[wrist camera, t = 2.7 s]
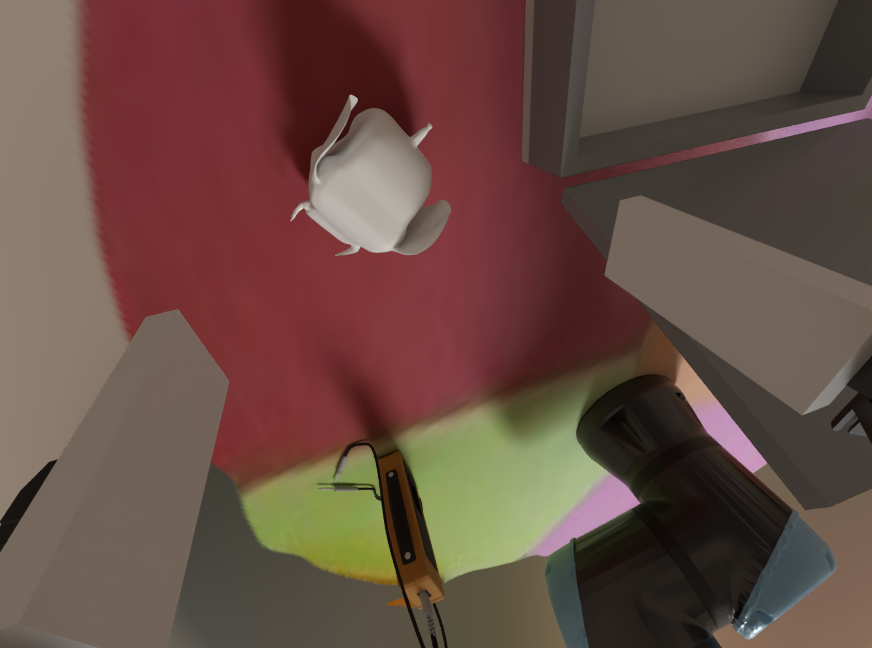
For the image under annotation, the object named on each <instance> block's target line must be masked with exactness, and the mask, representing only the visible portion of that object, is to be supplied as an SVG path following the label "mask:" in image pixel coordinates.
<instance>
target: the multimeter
mask: <svg viewBox="0 0 872 648" xmlns="http://www.w3.org/2000/svg"><path fill="white" fill-rule="evenodd" d="M360 445H368V446H369V447H370V448H371V449H372V452H373V454H374V458H375V462H376V467H377V473H378V479H379V487H380V495H381V499H380V498H378V497H377V495H376V490H375V489H374V488H358V487H350V486H335V487H334V488H317V489H321V490H334V491H335V492H336V491H357V490H373V491H374V494H375V498H376V499H377V500H380V501H381V503H382V510H383V518H384V524H385V530H386V535H387V540H388V544H389V548H390V552H391V556H392V560H393V563H394V567H395V570H396V575H397V581H398V586H399V588H400V590H401V592H402V593H403V596H404V599H405V602H406V605H407V609H408V612H409V614H410V617H411V620H412V623H413V626H414V629H415V632H416V635H417V637H418V640H419V642H420V645H421V648H425V646H424V643H423V640H422V637H421V635H420V632H419V629H418V626H417V623H416V621H415V618H414V615H413V612H412V609H411V606H410V603H409V600H408V598H409V599H410V600H411V601H412V602H413V603H414V604H415V605H416V607H417V608H418V609H423V613H424V615H425V616H426V619H427V620H426V621H427V623H428V624H427V626H428V630H429V634H430V635H431V640H432V645H433V648H438V643H437V639H436V632H435V627H434V622H433V618H432V617H433V612H432V609H431V604H433V606H434V609H435V611H436V614H437V617H438V620H439V623H440V627H441V631H442V635H443V640H444V645H445V648H448V647H447V642H446V636H445V632H444V628H443V624H442V621H441V618H440V615H439V612H438V609H437V607H436V604H435V603H436V602H438V601H440V600H442V599H444V597H445V595H444V591H443V587H442V583H441V579H440V575H439V572H438V568H437V564H436V560H435V556H434V552H433V548H432V545H431V541H430V537H429V533H428V529H427V526H426V522H425V518H424V514H423V507H422V502H421V498H420V497H419V495H418V491H417V487H416V483H415V480H414V478H413V476H412V474H411V472H410V471H409V469H408V467H407V465H406V463H405V461H404V459H403V457H402V455H401V453H400V452H399V451H398V452H395V453H393V454H390V455H388V456H385V457H383V458H380V459H377V455H376V452H375V450H374V448H373V446H372V445H371V444H370V443H357V444H354V445H352V446H350V447H349V448H348V449H347V451H346V453H345V455H344V456H343V458H342V460H341V463H340V465H339V467H338V470H337V471H336V472H337V476H336V478H335V481H334V483H335V482H336V480H337V478H338V476H339V474H341V473H342V469H343V467H344V464H345V462H346V459H347V454H348V452H349V451H350V449H351V448H353V447H355V446H360Z"/></svg>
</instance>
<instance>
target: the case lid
mask: <svg viewBox="0 0 872 648" xmlns="http://www.w3.org/2000/svg"><path fill="white" fill-rule="evenodd" d="M640 195H641V196H644V197H646V198H649V199H651V200H654V201H657V202H659V203H662V204H664V205H667V206H669V207H672V208H674V209H677V210H679V211H682V212H684V213H687V214H690V215H692V216H695V217H697V218H700V219H702V220H705V221H707V222H710V223H712V224H715V225H717V226H720V227H723V228H725V229H728V230H730V231H733V232H735V233H738V234H740V235H743V236H745V237H748V238H750V239H753V240H756V241H758V242H761V243H763V244H766V245H768V246H771V247H773V248H776V249H778V250H781V251H783V252H786V253H789V254H791V255H794V256H796V257H799V258H801V259H804V260H806V261H809V262H811V263H814V264H816V265H819V266H822V267H824V268H827V269H829V270H832V271H834V272H837V273H839V274H842V275H844V276H847V277H849V278H852V279H855V280H857V281H860V282H862V283H865V284H867V285H870V286H872V120H871V119H870V118H866V119H862V120H858V121H853V122H849V123H845V124H840V125H836V126H832V127H827V128H823V129H819V130H815V131H810V132H806V133H802V134H797V135H793V136H789V137H784V138H780V139H776V140H771V141H767V142H763V143H758V144H754V145H750V146H745V147H741V148H737V149H732V150H728V151H724V152H719V153H715V154H711V155H706V156H702V157H698V158H693V159H689V160H685V161H681V162H676V163H672V164H668V165H663V166H659V167H655V168H650V169H646V170H642V171H637V172H633V173H629V174H624V175H620V176H616V177H611V178H607V179H603V180H598V181H594V182H590V183H585V184H581V185H577V186H572V187H568V188H564V191H563V194H562V197H561V200H560V203H561V204H562V206H563V207H564V208H565V209H566V211H567V212H568V213H569V214H570V216H571V217H572V218H573V219H574V221H575V222H576V223H577V224H578V226H579V227H580V228H581V229H582V231H583V232H584V233H585V235H586V236H587V237H588V238H589V240H590V241H591V242H592V243H593V245H594V246H595V247H596V248H597V250H598V251H599V252H600V253H601V255H602V256H603V257H604V258H605V260H606V261H608V256H609V251H610V246H611V241H612V236H613V231H614V227H615V222H616V217H617V212H618V207H619V202H620V200H624V199H628V198H632V197H636V196H640ZM636 299H637V298H636ZM637 300H638V299H637ZM638 301H639V302H640V304H641V305H642V306H643V307H644V309H645V310H646V311H647V312H648V314H649V315H650V316H651V317H652V319H653V320H654V321H655V322H656V324H657V325H658V326H659V327H660V329H661V330H662V331H663V332H664V334H665V335H666V336H667V337H668V339H669V340H670V341H671V342H672V344H673V345H674V346H675V347H676V349H677V350H678V351H679V352H680V354H681V355H682V356H683V357H684V359H685V360H686V361H687V362H688V364H689V365H690V366H691V368H692V369H693V370H694V371H695V373H696V374H697V375H698V376H699V378H700V379H701V380H702V381H703V383H704V384H705V385H706V386H707V388H708V389H709V390H710V391H711V393H712V394H713V395H714V396H715V398H716V399H717V400H718V401H719V403H720V404H721V405H722V406H723V408H724V409H725V410H726V411H727V413H728V414H729V415H730V416H731V418H732V419H733V420H734V421H735V423H736V424H737V425H738V426H739V428H740V429H741V430H742V432H743V433H744V434H745V435H746V437H747V438H748V439H749V440H750V442H751V443H752V444H753V445H754V447H755V448H756V449H757V450H758V452H759V453H760V454H761V455H762V457H763V458H764V459H765V460H766V462H767V463H768V464H769V465H770V466H771V468H772V469H773V470H774V472H775V473H776V474H777V475H778V477H779V478H780V479H781V480H782V481H783V483H784V484H785V485H786V487H787V488H788V489H789V490H790V492H791V493H792V494H793V496H794V497H795V498H796V499H797V500H798V502H799V503H800V504H801V505H802V507H803V508H804V509H805V510H809V509H816V508H825V507H831V506H834V505H836V504H838V503H840V502H843V501H845V500H847V499H849V498H852V497H854V496H856V495H858V494H861V493H863V492H865V491H868V490H870V489H872V444H871V442H870V440H869V438H868V437H864V436H859V435H854V434H849V433H848V430H849V428H850V427H851V426H852V425H853V424H854V423H855V422H856V421H857V419H850V420H849V421H848V422H847V423H846V424H845V425H844V426H843V427H842V428H841V429H840V430H839V431H835V430H832V427H831V421H832V420H833V419H834V418H835V417H836V416H837V414H838V413H839V412H840V411H841V410H842V409H843V408H844V407H845V406H846V405H847V404H848V403H849V402H850V401H851V400H852V399H853V398H854V397H855V395H856V394H857V393H858V392H857V391H855V390H854V389H852V388H850V387H849V386H847V385H846V386H845V388H844V389H843V390H842V391H841V392H840V393H839V394H838V395H837V396H836V398H835V399H834V400H833V401H832V402H831V403H830V404H829V405H827V406H825V407H822V408H820V409H817V410H814V411H812V412H809V413H807V414H804V415H801V414H799V413H798V412H797V411H795V410H794V409H792V408H791V407H790V406H788V405H787V404H785V403H784V402H782V401H781V400H780V399H778V398H777V397H775V396H774V395H773V394H771V393H770V392H768V391H767V390H766V389H764V388H763V387H761V386H760V385H758V384H757V383H756V382H754V381H753V380H751V379H750V378H749V377H747V376H746V375H744V374H743V373H741V372H740V371H739V370H737V369H736V368H734V367H733V366H732V365H730V364H729V363H727V362H726V361H725V360H723V359H722V358H720V357H719V356H717V355H716V354H715V353H713V352H712V351H710V350H709V349H708V348H706V347H705V346H703V345H702V344H701V343H699V342H698V341H696V340H695V339H693V338H692V337H691V336H689V335H688V334H686V333H685V332H684V331H682V330H681V329H679V328H678V327H677V326H675V325H674V324H672V323H671V322H669V321H668V320H667V319H665V318H664V317H662V316H661V315H660V314H658V313H657V312H655V311H654V310H652V309H651V308H650V307H648V306H647V305H645V304H644V303H643V302H641V301H640V300H638Z"/></svg>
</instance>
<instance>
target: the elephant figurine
mask: <svg viewBox="0 0 872 648" xmlns="http://www.w3.org/2000/svg"><path fill="white" fill-rule="evenodd" d="M357 101H358V99H357V98H356V97H355V96H353V95H349V98H348V100H347V102H346V105H345V107H344V109H343V111H342V113H341V115H340V117H339V119H338V120H337V122H336V124H335V126H334V128H333V129H332V131H331V133H330V135H329V136H328V138H327V140H326V141H325V143H324V144H323V145H322V146H320V147H317V148H316V149H315V150H314V151H313V152H312V155H311V167H310V173H309V196H310V199H309V200H308V201H304V202H302V203H300V204H299V205H298V206H297V208H296V209H295V211H294V212H293V214H292V218H291V221H292V220H293V219H294V218H295V216H296V215H297V213H298V212H299V211H300V210H302V209H303V208H304V209H305V210H306V213H307V214H308V215H309V216H310V217H311V218H312V219H313V220H314V221H316V222H317V223H318V224H319V225H321V226H322V227H323V228H324V229H326V230H327V231H328V232H329V233H331V234H332V235H333V236H335V237H336V238H337V239H339V240H340V241H342V242H343V243H346V244H350V245H351V247H350V248H349V249H347V250H346V251H344V252H341V253H339V254H336V255H335V256H338V255H346V254H351V253H355V252H357V251H358V250H359V248H360V246H361V247H363V248H365V249H366V250H368V251H371V252H387V251H396V252H398V253H401V254H404V255H414V254H418V253H421V252H422V251H424V250H426V249H427V248H428V247H430V246H431V245H432V244H433V243H434V242H435V241H436V239H437V238H438V237H439V235H440V233H441V232H442V230H443V228H444V226H445V224H446V222H447V220H448V217H449V214H450V213H451V208H450V205H449V204H448V202H447V201H445V200H440V201H438V202H437V203H435V204H434V205H430V206H423V207H422V205H423V203H424V202H425V200H426V199H427V197H428V195H429V191H430V187H431V181H432V168H431V165H430V163H429V162H428V160H427V159H426V158H425V156H424V155H423V154H422V153H421V151H420V150H419V149H418V147H417V146H418V144H419V143H420V142H421V141H422V139H423V138H424V137H425V136H426V134H427V133H428V131H429V130H430V129H431V128H432V125H431V124H430V123H429V124H428V125H427V127H425V128H422V129H421V130H419V131H418V132H417V133H415V134H414V135H413V136H411V137H409V136H408V135H407V134H406V133H405V132H404V131H403V130H402V128H401V127H400V126H399V125H398V124H397V123H396V121H395V120H394V119H393V118H392V117H391V116H390V115H389V114H388V113H387V112H385V111H384V110H381V109H377V108H370V109H367V110H365V111H363V112H361V113H359V114H358V115H357V116H356V117H355V118H354V120H353V122H352V124H351V126H350V130H349V132H348V134H347V135H346V136H345V137H344V138H343V139H341V140H340V141H338V142H336V143H334V142H335V141H336V139H337V138H338V137H339V135H340V133H341V132H342V130H343V128H344V127H345V125H346V123H347V121H348V118H349V116H350V112H351V110H352V109H353V107H354V106H355V105H356V103H357ZM321 158H322V159H321ZM320 159H321V160H320ZM291 221H290V222H291Z"/></svg>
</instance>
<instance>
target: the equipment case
mask: <svg viewBox="0 0 872 648" xmlns="http://www.w3.org/2000/svg"><path fill="white" fill-rule="evenodd" d="M871 96H872V0H526V3H525V43H524V83H523V123H522V161H523V162H525V163H527V164H530V165H532V166H534V167H537V168H539V169H541V170H544V171H546V172H548V173H551V174H553V175H555V176H557V177H560V178H562V177H566V176H571V175H575V174H580V173H584V172H588V171H593V170H597V169H602V168H606V167H611V166H615V165H619V164H624V163H628V162H633V161H637V160H642V159H646V158H650V157H655V156H659V155H664V154H668V153H673V152H677V151H681V150H686V149H690V148H695V147H699V146H704V145H708V144H712V143H717V142H721V141H726V140H730V139H735V138H739V137H743V136H748V135H752V134H757V133H761V132H766V131H770V130H774V129H779V128H783V127H788V126H792V125H797V124H801V123H805V122H810V121H814V120H819V119H823V118H828V117H832V116H836V115H841V114H845V113H850V112H854V111H859V110H863V109H865V107H866V105H867V103H868V101H869V99H870V97H871Z"/></svg>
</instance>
